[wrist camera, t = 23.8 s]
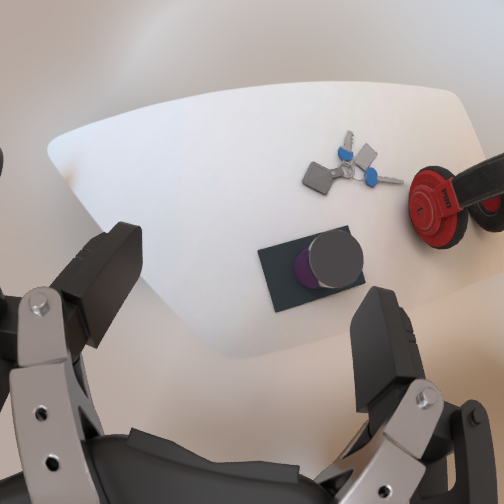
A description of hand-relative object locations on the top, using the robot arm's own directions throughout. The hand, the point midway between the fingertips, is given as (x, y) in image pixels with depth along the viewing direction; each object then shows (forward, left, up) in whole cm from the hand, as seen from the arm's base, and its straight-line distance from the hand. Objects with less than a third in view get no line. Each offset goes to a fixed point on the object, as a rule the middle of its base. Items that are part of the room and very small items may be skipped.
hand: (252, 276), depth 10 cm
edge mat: (+8, 0, -23) cm, 24 cm away
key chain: (+17, +12, -23) cm, 31 cm away
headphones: (+30, +2, -23) cm, 38 cm away
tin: (+8, 0, -22) cm, 24 cm away
